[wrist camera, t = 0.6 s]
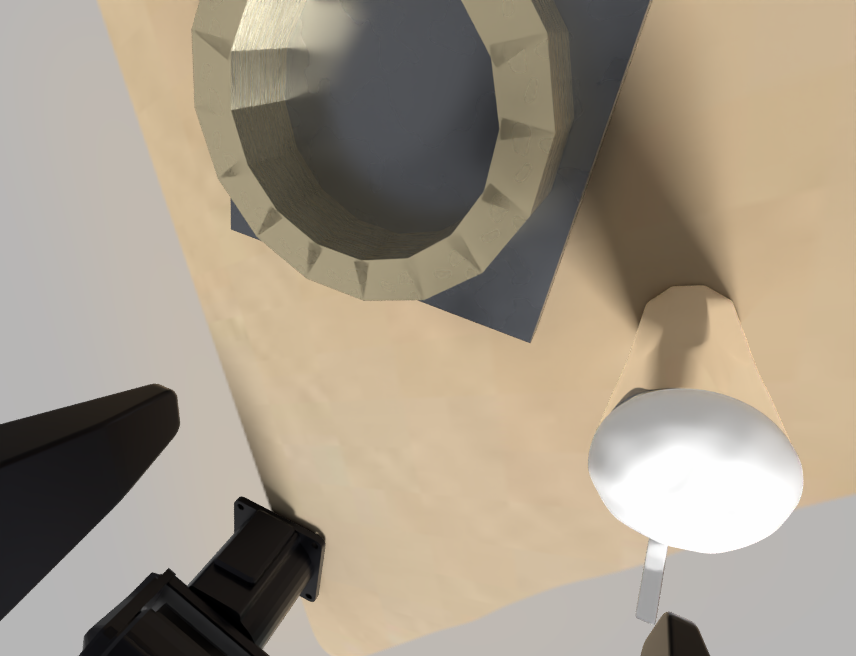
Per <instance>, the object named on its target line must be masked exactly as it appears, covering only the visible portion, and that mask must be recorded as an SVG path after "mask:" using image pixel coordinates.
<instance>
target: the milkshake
mask: <svg viewBox="0 0 856 656" xmlns="http://www.w3.org/2000/svg"><path fill="white" fill-rule="evenodd" d="M588 469H589V474H590V477H591V479H592V481H593V484H594V485H595V487H596V489H597V491H598V493H599V495H600V497H601V499H602V501H603V502H604V504H605V505H606V507H607V508H608V510H609V511H610V512H611V513H612V514H613V515H614V516H615V517H616V518H617V519H618V520H619V521H621V522H622V523H624V524H625V525H627V526H628V527H630V528H632V529H633V530H635V531H637V532H639V533H641V534H643V535H644V536H646V537H648V538H649V541H648V546H647V552H646V558H645V563H644V569H643V574H642V580H641V586H640V591H639V597H638V603H637V609H636V618H638V619H640V620H642V621H645V622H647V623H650V624H655V622H656V618H657V612H658V606H659V599H660V593H661V587H662V580H663V574H664V568H665V562H666V555H667V549H668V546H671V547H676V548H681V549H686V550H691V551H696V552H701V553H722V552H727V551H731V550H735V549H739V548H742V547H746V546H748V545H751V544H753V543H756V542H758V541H760V540H762V539H764V538H766V537H768V536H769V535H771V534H772V533H774V532H775V531H776V530H777V529H778V528H779V527H780V526H781V525H782V524H783V523H784V522H785V520H786V519H787V518H788V517H789V515H790V514H791V513H792V511H793V510H794V509H795V507H796V506H797V504H798V502H799V500H800V498H801V495H802V490H803V471H802V466H801V462H800V460H799V457H798V455H797V453H796V451H795V449H794V447H793V445H792V443H791V441H790V438H789V436H788V434H787V432H786V429H785V427H784V425H783V423H782V420H781V418H780V416H779V414H778V411H777V409H776V407H775V405H774V402H773V400H772V398H771V396H770V394H769V392H768V390H767V388H766V386H765V384H764V382H763V380H762V378H761V376H760V374H759V372H758V369H757V367H756V364H755V361H754V359H753V356H752V353H751V350H750V348H749V345H748V342H747V339H746V336H745V334H744V331H743V328H742V326H741V323H740V321H739V318H738V315H737V313H736V310H735V307H734V304H733V302H732V301H731V300H730V299H728V298H726V297H724V296H723V295H721V294H719V293H717V292H716V291H714V290H712V289H710V288H709V287H707V286H705V285H693V286H671V287H670V288H668V289H667V290H665V291H664V292H662V293H661V294H659V295H658V296H656V297H655V298H653V299H652V300H650V301H649V302H647V304H646V306H645V309H644V312H643V315H642V318H641V321H640V324H639V327H638V330H637V333H636V336H635V338H634V341H633V344H632V347H631V350H630V353H629V356H628V358H627V361H626V364H625V366H624V368H623V371H622V373H621V375H620V377H619V379H618V381H617V383H616V386H615V388H614V390H613V392H612V395H611V397H610V399H609V402H608V404H607V406H606V409H605V411H604V414H603V416H602V418H601V421H600V423H599V425H598V428H597V430H596V433H595V435H594V437H593V440H592V443H591V446H590V451H589V457H588Z"/></svg>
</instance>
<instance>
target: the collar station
mask: <svg viewBox="0 0 856 656" xmlns="http://www.w3.org/2000/svg"><path fill="white" fill-rule="evenodd" d="M651 3H652V0H200V1H199V5H198V8H197V12H196V16H195V19H194V23H193V26H192V54H193V78H194V102H195V110H196V113H197V116H198V119H199V122H200V125H201V128H202V131H203V134H204V137H205V141H206V144H207V147H208V150H209V153H210V156H211V159H212V162H213V165H214V168H215V171H216V174H217V177H218V179H219V181H220V182H221V184H222V185H223V187H224V188H225V190H226V191H227V193H228V194H229V196H230V197H231V229H232V230H234V231H237V232H239V233H242V234H245V235H247V236H250V237H253V238H255V239H258V240H260V241H262V242H264V243H265V244H266V245H267V246H268V247H270V248H271V249H272V250H273V251H274V252H276V253H277V254H278V255H279V256H280V257H282V258H283V259H284V260H285V261H286V262H287V263H289V264H290V265H291V266H292V267H293V268H295V269H296V270H297V271H298V272H299V273H301V274H302V275H303V276H304V277H305V278H307V279H309V280H312V281H314V282H317V283H320V284H322V285H325V286H327V287H330V288H332V289H335V290H337V291H340V292H343V293H345V294H348V295H350V296H353V297H355V298H358V299H360V300H363V301H383V300H418V301H421V302H423V303H426V304H429V305H431V306H434V307H437V308H439V309H442V310H444V311H447V312H450V313H452V314H455V315H458V316H460V317H463V318H465V319H468V320H471V321H473V322H476V323H479V324H481V325H484V326H486V327H489V328H492V329H494V330H497V331H500V332H502V333H505V334H507V335H510V336H513V337H515V338H518V339H521V340H523V341H526V342H529V343H530V342H531V340H532V338H533V336H534V334H535V332H536V330H537V327H538V324H539V321H540V318H541V316H542V313H543V310H544V307H545V304H546V301H547V299H548V296H549V293H550V290H551V287H552V284H553V281H554V279H555V276H556V273H557V270H558V267H559V264H560V262H561V259H562V256H563V253H564V250H565V247H566V245H567V242H568V239H569V236H570V233H571V230H572V227H573V225H574V222H575V219H576V216H577V213H578V210H579V208H580V205H581V202H582V199H583V196H584V193H585V190H586V188H587V185H588V182H589V179H590V176H591V173H592V171H593V168H594V165H595V162H596V159H597V156H598V153H599V151H600V148H601V145H602V142H603V139H604V136H605V134H606V131H607V128H608V125H609V122H610V119H611V117H612V114H613V111H614V108H615V105H616V102H617V99H618V97H619V94H620V91H621V88H622V85H623V82H624V80H625V77H626V74H627V71H628V68H629V65H630V62H631V60H632V57H633V54H634V51H635V48H636V45H637V43H638V40H639V37H640V34H641V31H642V28H643V26H644V23H645V20H646V17H647V14H648V11H649V8H650V6H651Z"/></svg>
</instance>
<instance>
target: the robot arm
mask: <svg viewBox="0 0 856 656" xmlns="http://www.w3.org/2000/svg"><path fill="white" fill-rule="evenodd" d="M179 426H180V417H179V409H178V400H177V395H176V393H175V392H174V391H173V390H171V389H169V388H166V387H164V386H162V385H159V384H150V385H147V386H142V387H139V388H135V389H131V390H127V391H124V392H120V393H116V394H112V395H109V396H105V397H101V398H97V399H94V400H90V401H87V402H82V403H78V404H75V405H71V406H67V407H63V408H60V409H56V410H52V411H49V412H45V413H41V414H37V415H33V416H30V417H26V418H22V419H18V420H15V421H11V422H7V423H3V424H0V621H1V620H2V619H3V618H4V617H5V616H6V615H7V614H8V613H9V612H10V611H11V610H12V609H13V608H14V607H15V606H16V605H17V604H18V603H19V602H20V601H21V600H22V599H23V598H24V597H25V596H26V595H27V594H28V593H29V592H30V591H31V590H32V589H33V588H34V587H35V586H36V585H37V584H38V583H39V582H40V581H41V580H42V579H43V578H44V577H45V576H46V575H47V574H48V573H49V572H50V571H51V570H52V569H53V568H54V567H55V566H56V565H57V564H58V563H59V562H60V561H61V560H62V559H63V558H64V557H65V556H66V555H67V554H68V553H69V552H70V551H71V550H72V549H73V548H74V547H75V546H76V545H77V544H78V543H79V542H80V541H81V540H82V539H83V538H84V537H85V536H86V535H87V534H88V533H89V532H90V531H91V530H92V529H93V528H94V527H95V526H96V525H97V524H98V523H99V522H100V521H101V520H102V519H103V518H104V517H105V516H106V515H107V514H108V513H109V512H110V511H111V510H112V509H113V508H114V507H115V506H116V505H117V504H118V503H119V502H120V501H121V500H122V499H123V497H124V496H125V495H126V494H127V493H128V492H129V491H130V489H131V488H132V487H133V486H134V485H135V483H136V482H137V481H138V480H139V479H140V477H141V476H142V475H143V474H144V473H145V471H146V470H147V469H148V468H149V467H150V465H151V464H152V463H153V462H154V461H155V459H156V458H157V457H158V456H159V455H160V453H161V452H162V451H163V450H164V449H165V447H166V446H167V445H168V444H169V442H170V441H171V440H172V439H173V438H174V436H175V435H176V433H177V432H178V429H179ZM324 551H325V541H324V539H323V538H322V537H320V536H319V535H317V534H315V533H313V532H311V531H309V530H307V529H305V528H303V527H301V526H299V525H297V524H295V523H293V522H291V521H289V520H287V519H286V518H284V517H282V516H280V515H278V514H276V513H274V512H272V511H270V510H268V509H266V508H264V507H262V506H260V505H258V504H256V503H254V502H252V501H250V500H249V499H247V498H245V497H239V498H238V499H237V500H236V501H235V503H234V534H233V535H232V536H231V538H230V539H229V540H228V541H227V542H226V543H225V544H224V545H223V546H222V548H221V549H220V550H219V551H218V552H217V553H216V555H214V557H213V558H212V559H211V560H210V561H209V562H208V563H207V564H206V565H205V567H204V568H203V569H202V570H201V571H200V572H199V573H198V574H197V576H196V577H195V578H194V579H193V580H192V581H191V582H190V583H189V584H188V586H187V585H185V584H184V583H183V582H182V581H181V580H179V579H178V578H177V577H176V576H175V575H176V574H175V573H174V572H173V571H172V570H171V569H169V568H168V569H167V570H166V572H164V573H163V574H156V573H151V574H150V575H149V576H148V577H147V578H146V579H145V580H144V581H143V582H142V583H141V584H140V585H139V586H138V587H137V588H136V589H135V590H134V591H133V592H132V593H131V594H130V595H129V596H128V597H127V598H126V599H124V600H123V601H122V602H121V603H120V604H119V605H118V606H116V607H115V608H114V609H113V610H112V611H110V612H109V613H108V614H107V615H106V616H105V617H104V618H102V619H101V620H100V621H99V622H98V623H97V624H95V625H94V626H93V627H92V628H91V629H90V630H89V631H88V632H87V633H86V634H85V636H84V641H83V651H82V652H81V653H80V655H79V656H269V655H268V654H267V653H266V652H264V651H263V650H262V649H263V648H264V646H265V645H266V643H267V642H268V641H269V639H270V637H271V636H272V635H273V633H274V632H275V630H276V629H277V627H278V626H279V624H280V623H281V622H282V620H283V619H284V617H285V616H286V614H287V613H288V611H289V610H290V608H291V607H292V606H293V604H294V603H295V601H296V600H297V598H298V597H299V596H301V597H303V598H305V599H306V600H308V601H311V602H314V601H315V600H316V598H317V597H318V595H319V588H320V580H321V573H322V566H323V559H324ZM641 656H710V655H709V652H708V650H707V648H706V645H705V643H704V641H703V638H702V636H701V634H700V631H699V629H698V627H697V626H696V625H695V624H694V623H693V622H692V621H690V620H688V619H686V618H683V617H681V616H679V615H676V614H674V613H672V612H666V613H664V614H663V615H662V617H661V618H660V619H659V621H658V622H657V624H656V625H655V627H654V629H653V630H652V631H651V633H650V634H649V636H648V637H647V639H646V641H645V643H644V645H643V649H642V652H641Z"/></svg>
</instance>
